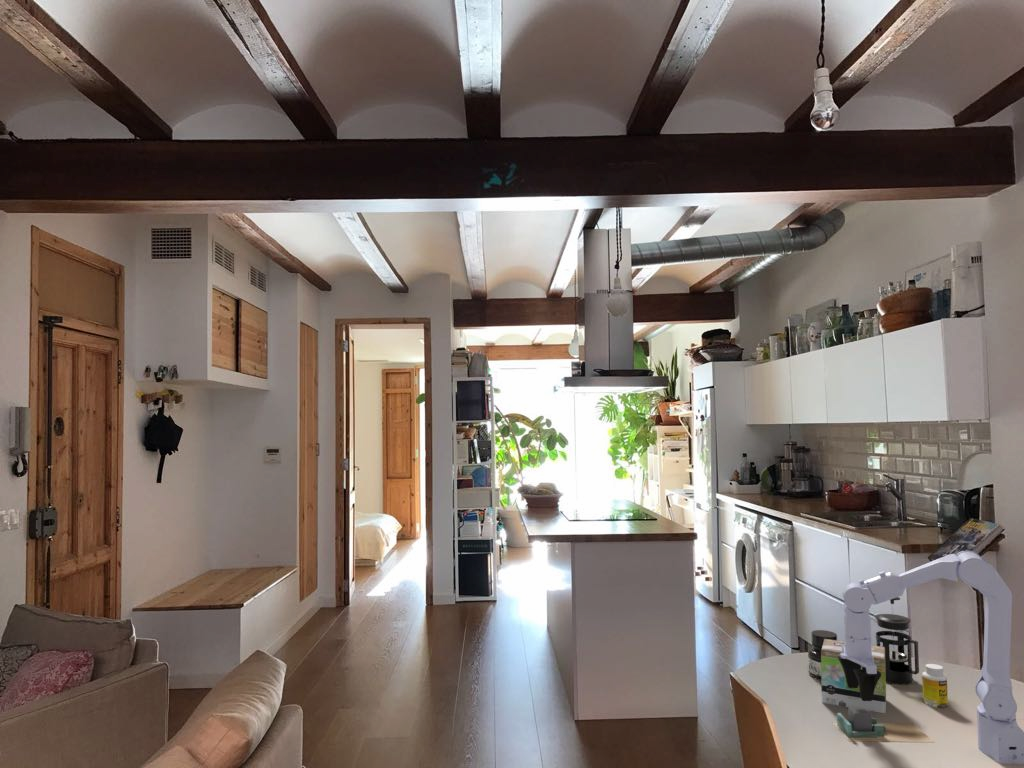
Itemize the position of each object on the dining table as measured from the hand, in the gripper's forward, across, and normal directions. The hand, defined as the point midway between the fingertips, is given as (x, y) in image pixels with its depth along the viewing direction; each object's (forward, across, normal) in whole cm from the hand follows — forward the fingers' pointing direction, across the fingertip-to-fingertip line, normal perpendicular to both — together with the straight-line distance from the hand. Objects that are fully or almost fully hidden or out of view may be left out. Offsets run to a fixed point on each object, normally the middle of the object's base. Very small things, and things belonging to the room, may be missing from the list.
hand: (859, 693), depth 171 cm
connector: (+9, 0, +2) cm, 9 cm away
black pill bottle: (+10, -38, +6) cm, 39 cm away
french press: (+10, -36, +25) cm, 44 cm away
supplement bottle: (+10, -16, +26) cm, 32 cm away
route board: (+9, 0, +5) cm, 10 cm away
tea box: (+10, -18, +6) cm, 21 cm away
